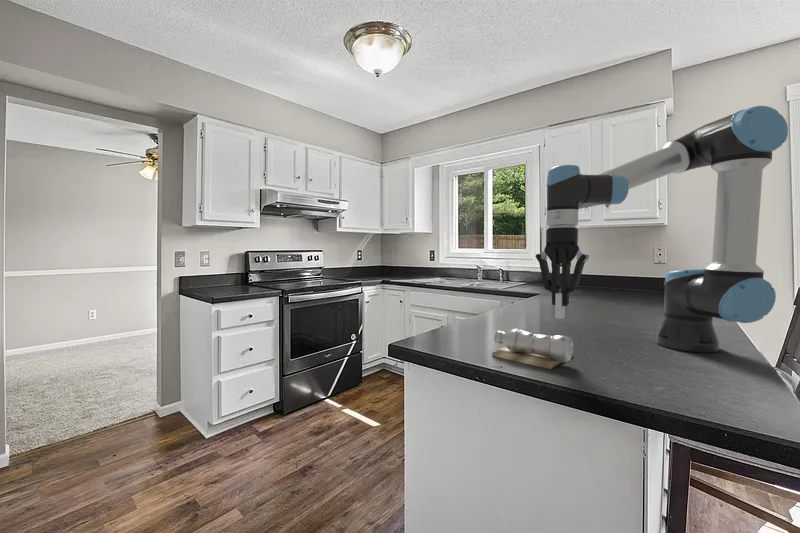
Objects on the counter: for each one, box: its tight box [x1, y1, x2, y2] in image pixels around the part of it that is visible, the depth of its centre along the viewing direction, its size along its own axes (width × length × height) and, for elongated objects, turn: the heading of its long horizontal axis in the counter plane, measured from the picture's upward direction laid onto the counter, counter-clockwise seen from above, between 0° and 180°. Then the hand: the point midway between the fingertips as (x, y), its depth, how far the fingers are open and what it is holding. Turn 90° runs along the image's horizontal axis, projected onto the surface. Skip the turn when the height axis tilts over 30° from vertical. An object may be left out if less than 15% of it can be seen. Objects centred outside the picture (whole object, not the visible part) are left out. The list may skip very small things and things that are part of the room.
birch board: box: [491, 345, 573, 370], centre depth 102 cm, size 16×15×1 cm
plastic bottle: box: [494, 328, 574, 363], centre depth 98 cm, size 6×7×20 cm
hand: (559, 318), depth 97 cm, fingers closed
